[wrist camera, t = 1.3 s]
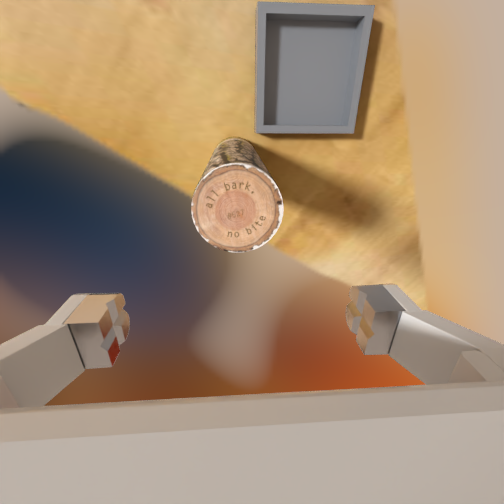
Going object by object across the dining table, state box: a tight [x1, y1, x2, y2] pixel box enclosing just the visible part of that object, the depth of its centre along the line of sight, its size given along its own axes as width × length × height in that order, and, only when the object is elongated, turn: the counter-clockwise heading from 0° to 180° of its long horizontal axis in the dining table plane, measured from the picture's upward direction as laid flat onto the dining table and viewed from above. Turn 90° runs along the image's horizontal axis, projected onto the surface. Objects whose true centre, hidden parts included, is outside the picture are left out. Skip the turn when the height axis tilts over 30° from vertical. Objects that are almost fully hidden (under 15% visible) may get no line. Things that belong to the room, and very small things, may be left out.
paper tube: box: [191, 137, 283, 252], centre depth 31 cm, size 7×7×25 cm
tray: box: [255, 2, 375, 133], centre depth 36 cm, size 14×14×3 cm
